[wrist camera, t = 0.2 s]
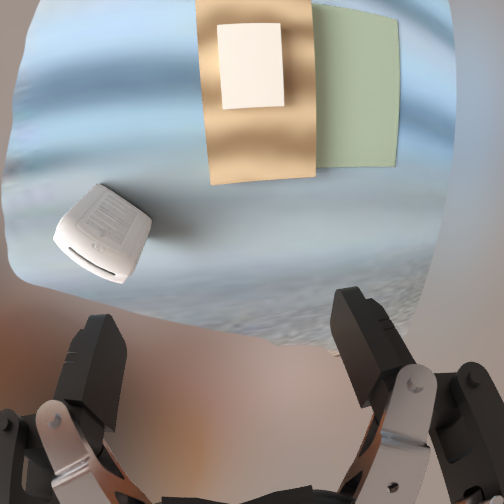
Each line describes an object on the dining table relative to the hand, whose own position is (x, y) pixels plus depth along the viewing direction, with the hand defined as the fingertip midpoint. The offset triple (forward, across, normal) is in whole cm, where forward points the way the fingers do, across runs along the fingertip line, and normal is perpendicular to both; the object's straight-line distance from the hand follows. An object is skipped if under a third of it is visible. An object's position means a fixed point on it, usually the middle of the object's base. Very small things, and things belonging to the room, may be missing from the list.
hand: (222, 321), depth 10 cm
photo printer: (+28, +14, +7) cm, 32 cm away
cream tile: (+24, -4, -9) cm, 26 cm away
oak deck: (+28, -5, -7) cm, 29 cm away
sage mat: (+28, -18, -7) cm, 34 cm away
